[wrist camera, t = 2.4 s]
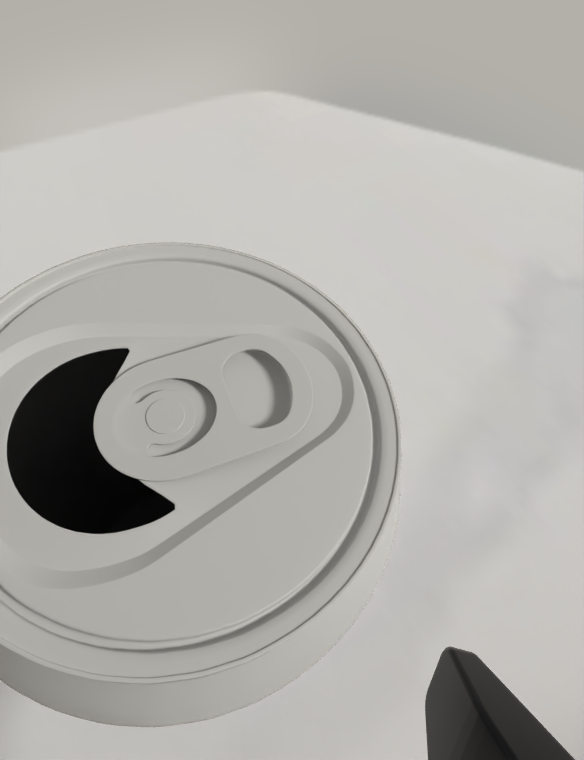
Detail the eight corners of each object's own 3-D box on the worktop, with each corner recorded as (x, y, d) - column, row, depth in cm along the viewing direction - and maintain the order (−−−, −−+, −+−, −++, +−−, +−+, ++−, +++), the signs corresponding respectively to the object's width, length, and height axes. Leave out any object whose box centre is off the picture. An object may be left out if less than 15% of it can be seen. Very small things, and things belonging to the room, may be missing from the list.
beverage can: (69, 527, 17) (-149, 264, 7) (258, 466, 19) (313, 188, 9) (112, 754, 14) (-149, 896, 4) (330, 655, 16) (540, 575, 6)
